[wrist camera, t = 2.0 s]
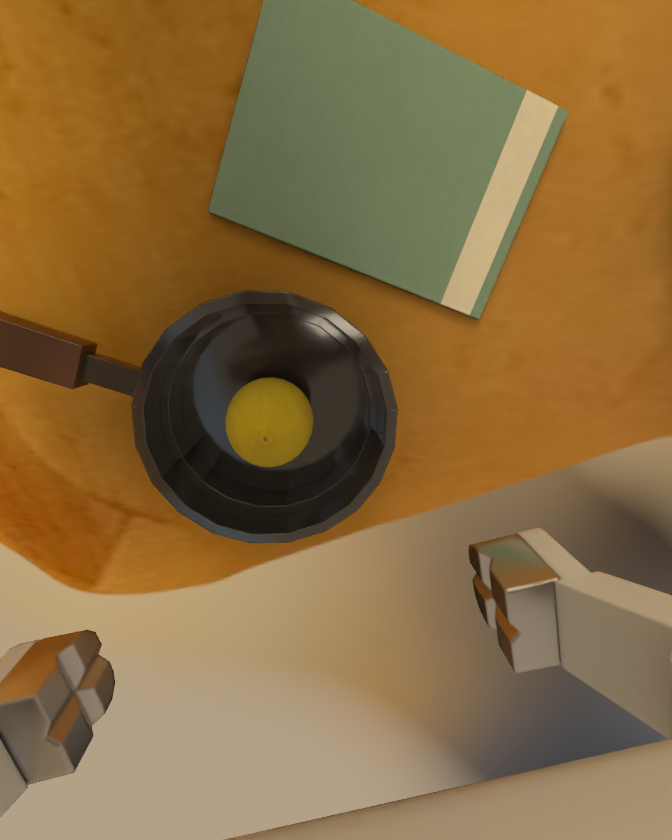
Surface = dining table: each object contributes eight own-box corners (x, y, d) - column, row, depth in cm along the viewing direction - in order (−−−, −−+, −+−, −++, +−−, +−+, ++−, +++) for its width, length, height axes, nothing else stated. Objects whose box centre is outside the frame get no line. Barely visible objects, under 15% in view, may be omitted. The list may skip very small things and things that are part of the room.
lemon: (317, 434, 31) (323, 476, 23) (245, 448, 30) (227, 494, 23) (304, 363, 29) (305, 381, 21) (228, 377, 29) (201, 400, 21)
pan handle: (-56, 339, 23) (-85, 341, 21) (-50, 294, 23) (-79, 293, 21) (149, 403, 25) (138, 409, 23) (159, 363, 24) (148, 367, 23)
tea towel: (209, 212, 26) (207, 210, 26) (274, -34, 23) (273, -42, 23) (476, 319, 30) (479, 319, 29) (564, 115, 27) (569, 111, 26)
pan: (143, 468, 31) (106, 505, 25) (198, 260, 27) (170, 246, 21) (337, 524, 33) (344, 568, 27) (410, 340, 30) (436, 347, 24)
